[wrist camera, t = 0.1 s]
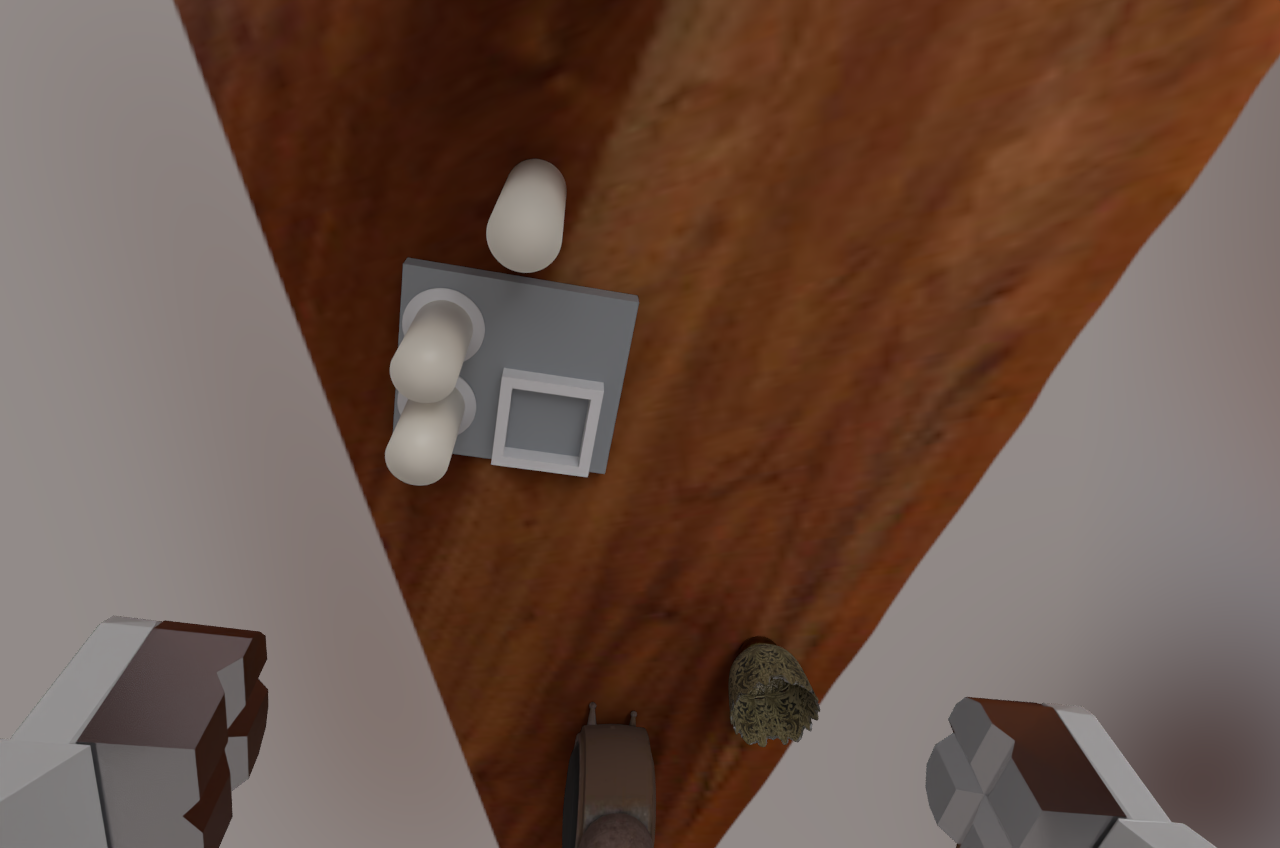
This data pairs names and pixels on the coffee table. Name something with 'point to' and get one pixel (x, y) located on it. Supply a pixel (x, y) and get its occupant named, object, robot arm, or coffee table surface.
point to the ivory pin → (528, 217)
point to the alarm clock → (610, 788)
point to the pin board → (505, 372)
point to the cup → (769, 694)
